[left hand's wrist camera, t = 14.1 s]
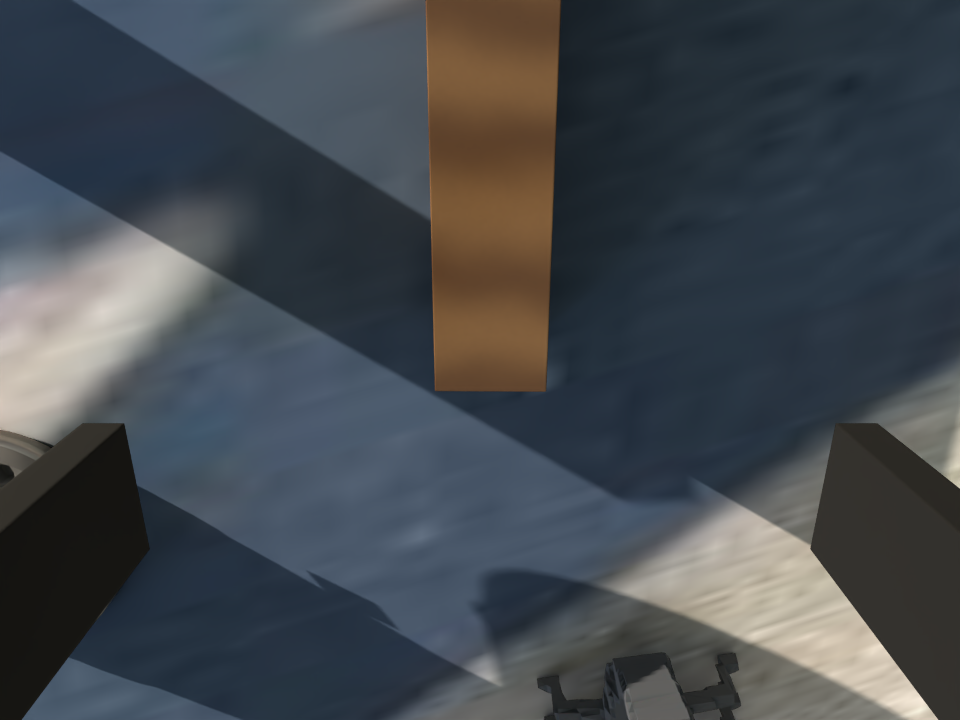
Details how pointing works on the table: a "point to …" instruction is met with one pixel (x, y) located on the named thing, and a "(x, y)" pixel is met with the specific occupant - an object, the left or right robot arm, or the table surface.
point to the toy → (647, 692)
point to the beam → (492, 189)
